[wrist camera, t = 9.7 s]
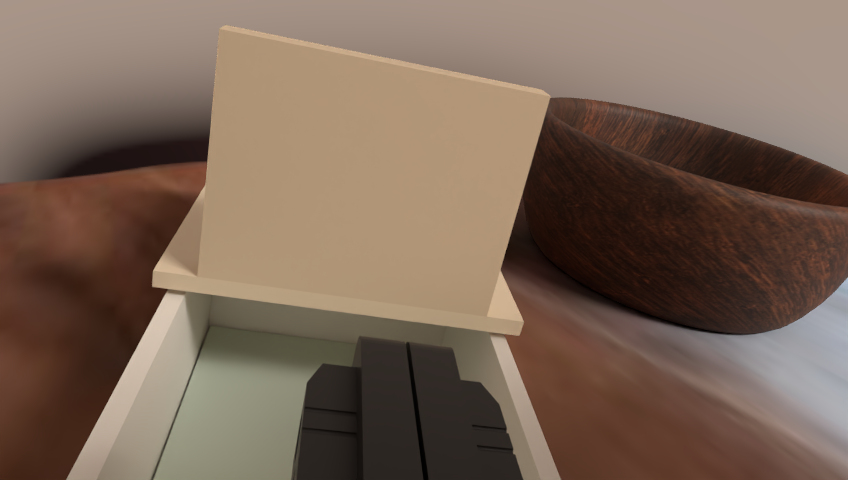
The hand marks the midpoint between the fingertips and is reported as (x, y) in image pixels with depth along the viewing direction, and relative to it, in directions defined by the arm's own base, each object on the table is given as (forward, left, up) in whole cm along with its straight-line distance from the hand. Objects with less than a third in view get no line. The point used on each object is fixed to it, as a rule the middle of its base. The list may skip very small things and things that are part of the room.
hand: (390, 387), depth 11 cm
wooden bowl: (-40, -18, -12) cm, 45 cm away
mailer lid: (-10, -18, -5) cm, 21 cm away
